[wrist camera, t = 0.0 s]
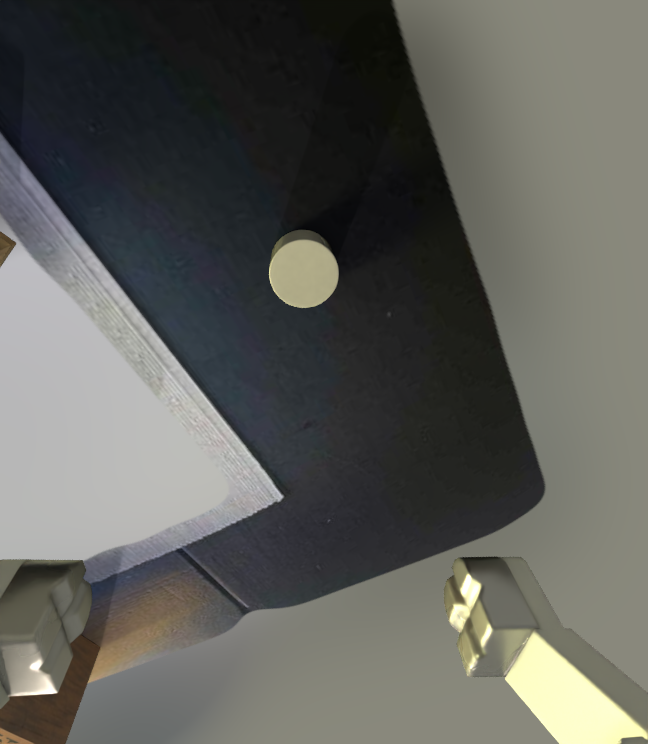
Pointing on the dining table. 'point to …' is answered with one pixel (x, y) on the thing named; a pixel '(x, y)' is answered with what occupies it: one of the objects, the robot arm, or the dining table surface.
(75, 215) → the dining table surface
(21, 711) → the tissue box cover
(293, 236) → the white cylinder
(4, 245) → the board
